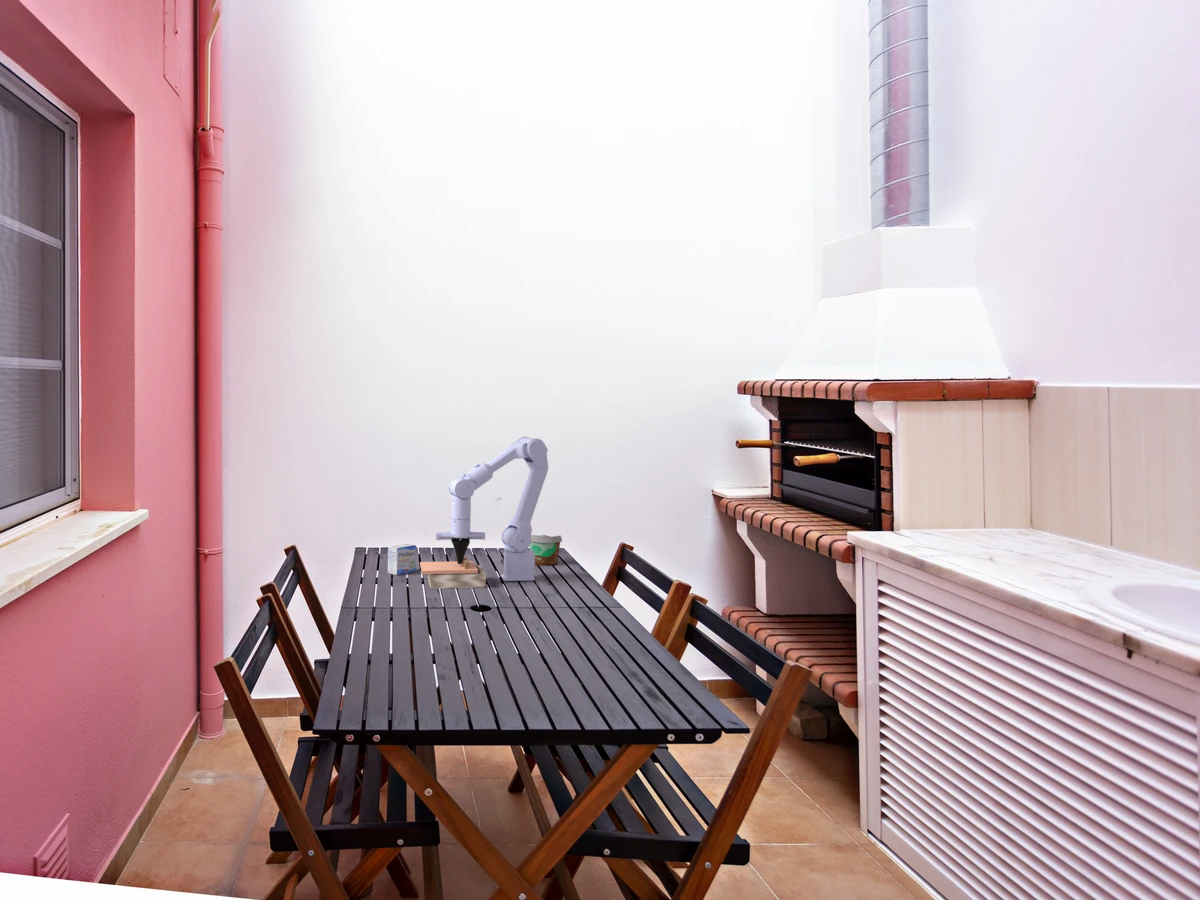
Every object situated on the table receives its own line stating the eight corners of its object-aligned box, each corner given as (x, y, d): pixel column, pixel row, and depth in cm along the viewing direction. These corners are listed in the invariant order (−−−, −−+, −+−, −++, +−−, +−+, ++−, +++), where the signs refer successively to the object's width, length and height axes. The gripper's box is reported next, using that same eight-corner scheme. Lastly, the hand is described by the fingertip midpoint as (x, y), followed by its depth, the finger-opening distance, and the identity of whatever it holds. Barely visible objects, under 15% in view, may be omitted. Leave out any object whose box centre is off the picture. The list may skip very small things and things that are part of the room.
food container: (520, 564, 295) (521, 534, 295) (528, 561, 301) (529, 532, 300) (553, 568, 291) (554, 538, 290) (561, 564, 296) (562, 535, 296)
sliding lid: (473, 564, 271) (473, 554, 271) (477, 573, 258) (477, 563, 258) (420, 565, 267) (420, 555, 267) (422, 574, 254) (422, 564, 254)
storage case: (480, 577, 272) (480, 565, 272) (485, 587, 259) (485, 574, 259) (427, 579, 268) (428, 566, 268) (430, 588, 255) (430, 575, 255)
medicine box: (396, 575, 271) (397, 548, 271) (387, 573, 274) (387, 546, 273) (416, 572, 278) (416, 544, 277) (406, 570, 280) (407, 543, 280)
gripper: (483, 516, 268) (482, 560, 269) (435, 516, 265) (434, 561, 266) (486, 519, 261) (485, 565, 262) (436, 520, 258) (436, 565, 259)
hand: (459, 563), depth 263 cm, fingers closed
